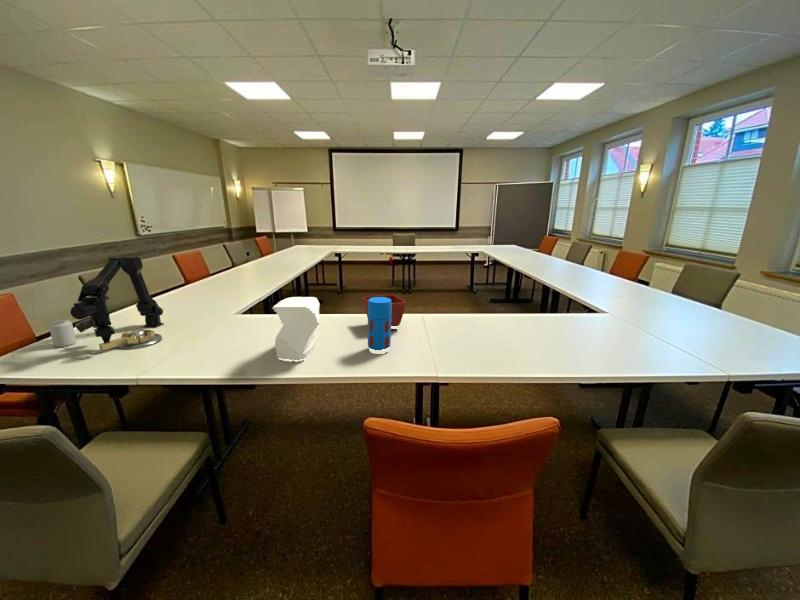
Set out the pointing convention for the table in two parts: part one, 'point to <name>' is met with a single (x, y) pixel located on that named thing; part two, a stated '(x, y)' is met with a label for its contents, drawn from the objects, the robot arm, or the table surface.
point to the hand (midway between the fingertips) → (106, 344)
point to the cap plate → (140, 345)
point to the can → (62, 333)
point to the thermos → (379, 323)
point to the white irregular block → (297, 327)
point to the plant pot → (396, 308)
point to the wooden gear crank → (128, 339)
